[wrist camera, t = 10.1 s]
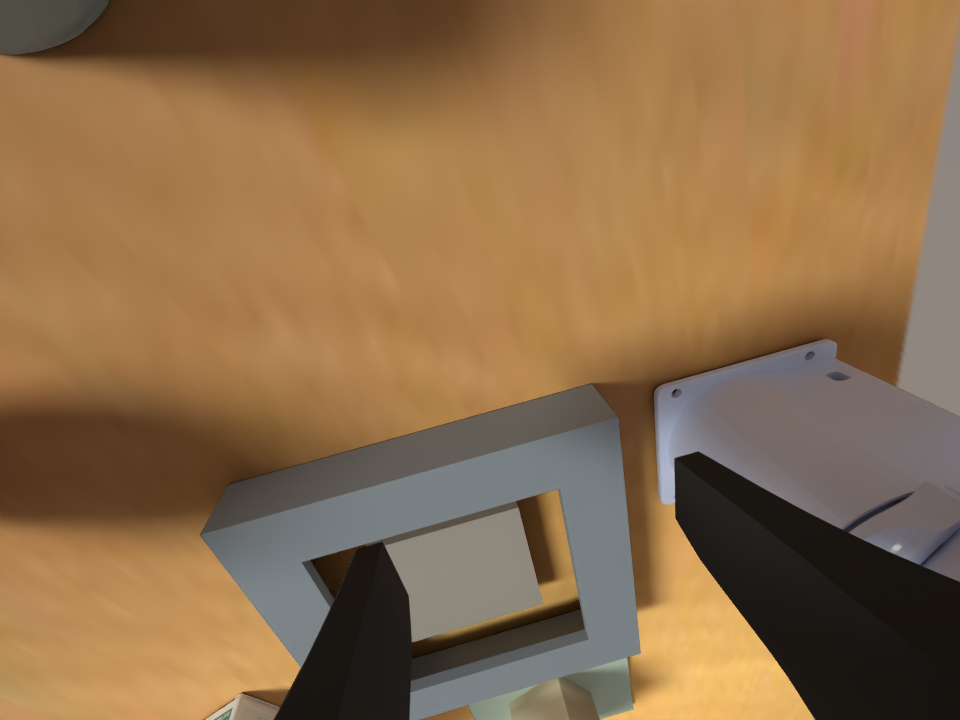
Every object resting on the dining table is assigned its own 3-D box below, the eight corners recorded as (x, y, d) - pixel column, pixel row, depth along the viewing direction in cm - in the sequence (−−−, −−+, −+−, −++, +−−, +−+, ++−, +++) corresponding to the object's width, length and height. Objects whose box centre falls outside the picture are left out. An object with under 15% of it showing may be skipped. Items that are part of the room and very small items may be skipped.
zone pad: (622, 632, 30) (624, 638, 30) (631, 703, 34) (633, 709, 34) (459, 681, 30) (459, 687, 29) (489, 746, 34) (490, 752, 34)
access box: (591, 383, 21) (618, 417, 18) (619, 607, 29) (640, 653, 26) (228, 484, 20) (199, 535, 17) (360, 683, 28) (355, 739, 25)
